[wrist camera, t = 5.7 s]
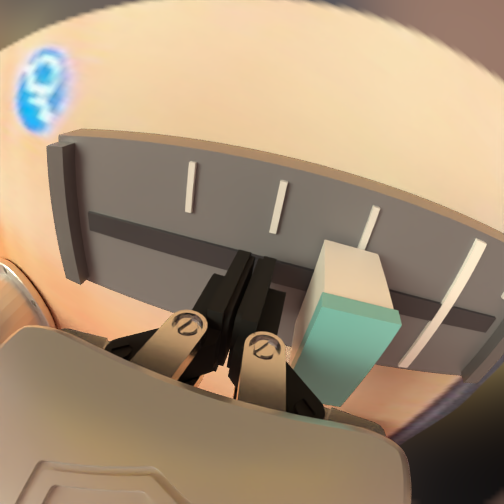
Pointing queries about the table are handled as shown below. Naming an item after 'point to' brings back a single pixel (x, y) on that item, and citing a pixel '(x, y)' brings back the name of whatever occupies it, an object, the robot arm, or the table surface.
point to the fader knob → (342, 322)
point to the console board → (273, 237)
